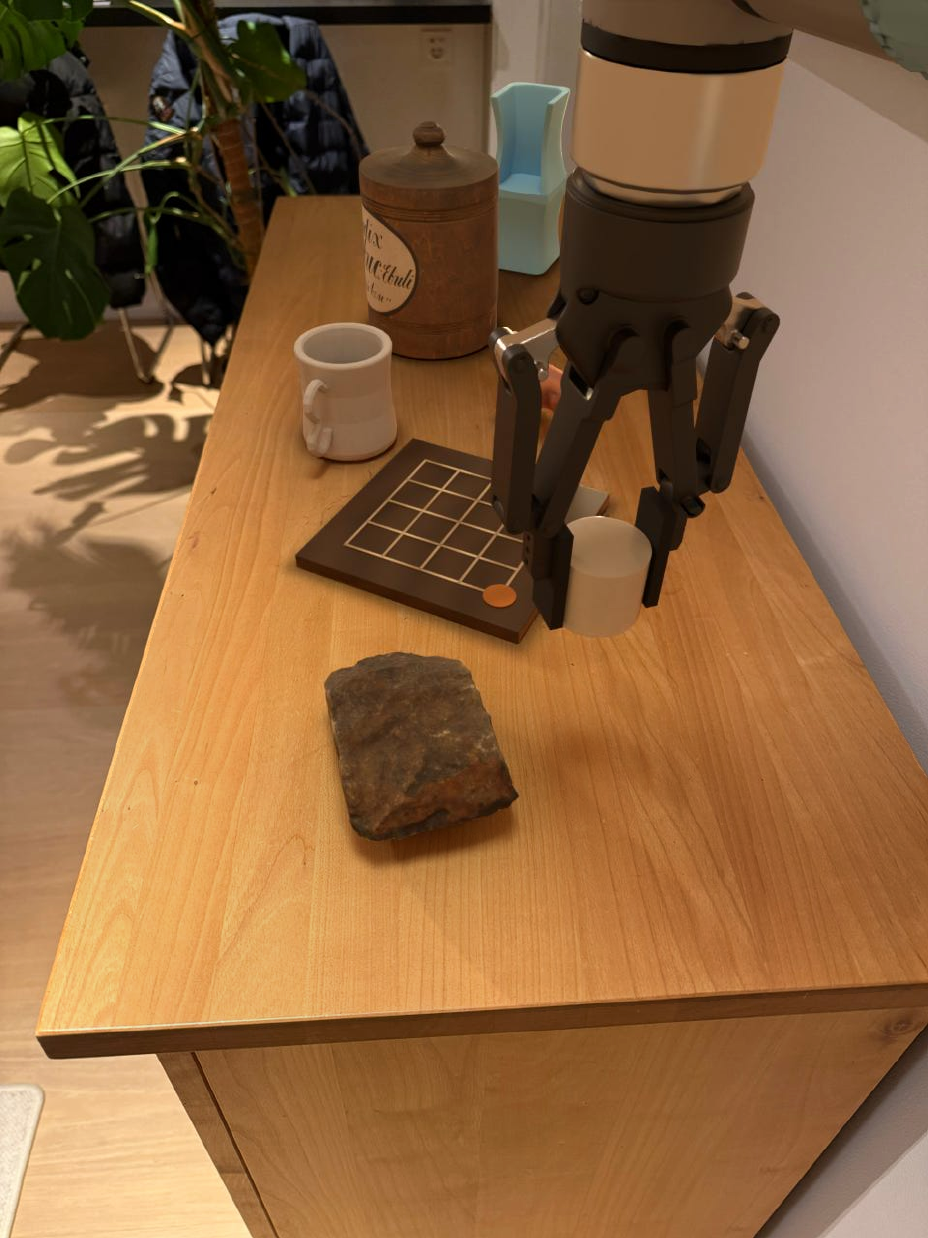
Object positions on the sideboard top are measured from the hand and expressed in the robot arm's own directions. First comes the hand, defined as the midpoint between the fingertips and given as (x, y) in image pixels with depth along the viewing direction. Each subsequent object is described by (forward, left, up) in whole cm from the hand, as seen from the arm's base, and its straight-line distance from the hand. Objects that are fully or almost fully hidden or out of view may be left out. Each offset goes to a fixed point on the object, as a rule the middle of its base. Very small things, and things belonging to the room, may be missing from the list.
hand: (594, 601), depth 52 cm
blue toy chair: (+36, -74, -14) cm, 84 cm away
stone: (+9, +6, -14) cm, 17 cm away
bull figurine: (+18, -36, -14) cm, 43 cm away
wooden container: (+37, -50, -14) cm, 64 cm away
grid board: (+17, -17, -13) cm, 28 cm away
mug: (+33, -24, -14) cm, 44 cm away
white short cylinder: (0, 0, 0) cm, 0 cm away
